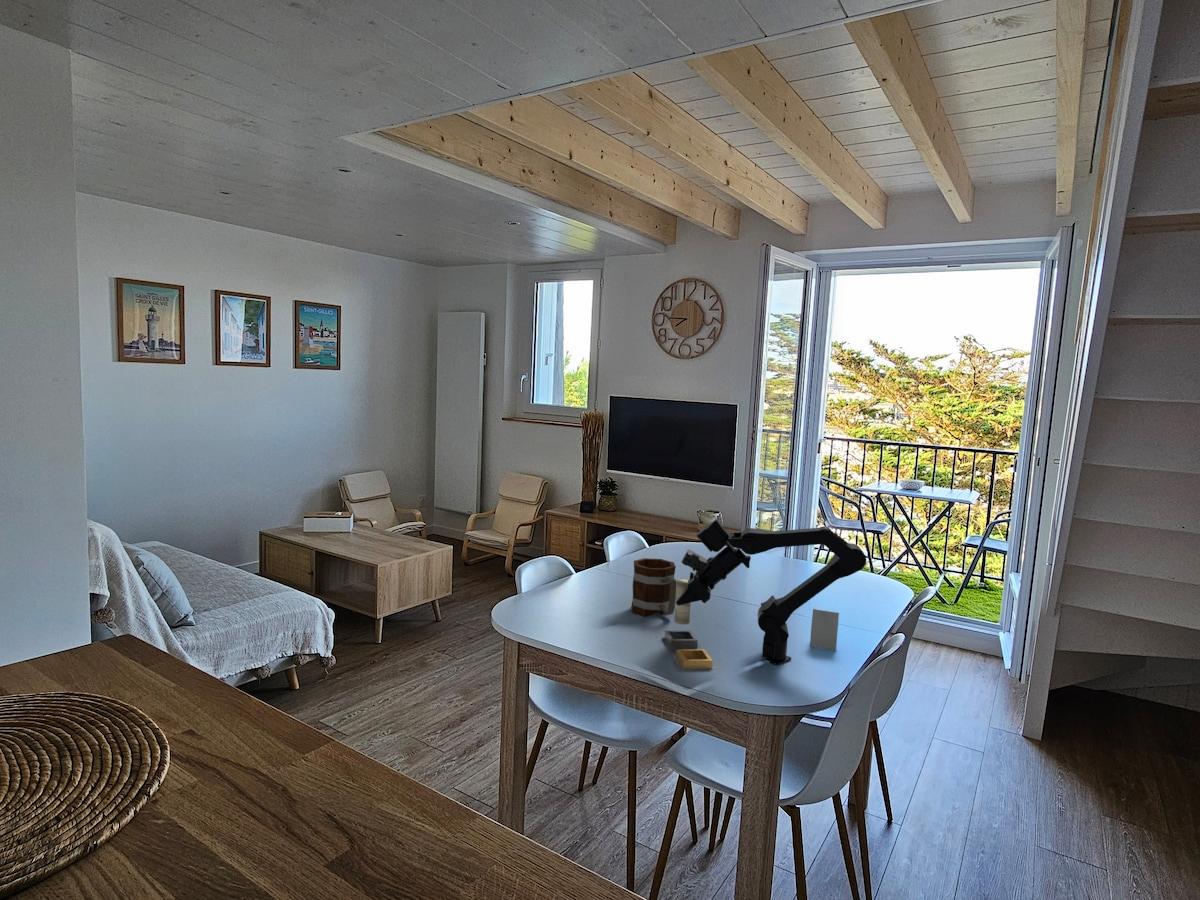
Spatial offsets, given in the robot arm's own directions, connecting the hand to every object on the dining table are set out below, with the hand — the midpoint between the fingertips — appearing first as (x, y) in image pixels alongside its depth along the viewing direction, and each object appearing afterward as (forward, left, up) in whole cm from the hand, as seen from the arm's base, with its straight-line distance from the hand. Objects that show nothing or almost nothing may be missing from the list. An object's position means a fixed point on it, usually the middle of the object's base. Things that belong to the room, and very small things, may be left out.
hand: (677, 601), depth 184 cm
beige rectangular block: (-34, +24, -13) cm, 44 cm away
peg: (-1, +1, -5) cm, 6 cm away
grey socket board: (+2, +6, -12) cm, 14 cm away
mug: (-15, -21, -13) cm, 29 cm away
